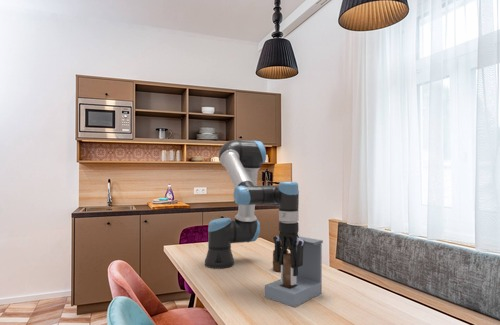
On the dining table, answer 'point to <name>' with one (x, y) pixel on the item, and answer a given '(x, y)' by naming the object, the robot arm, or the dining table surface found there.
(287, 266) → the peg
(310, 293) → the socket station
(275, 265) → the mug
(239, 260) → the dining table surface
